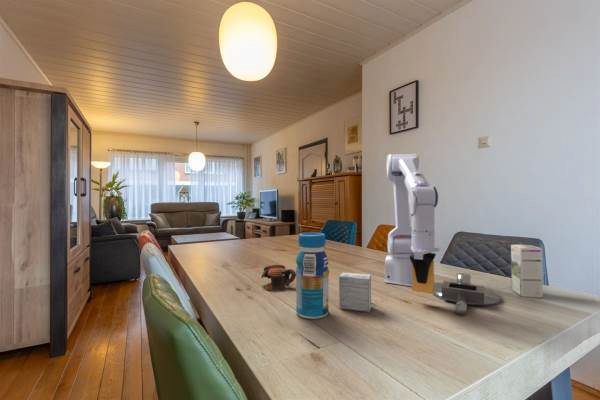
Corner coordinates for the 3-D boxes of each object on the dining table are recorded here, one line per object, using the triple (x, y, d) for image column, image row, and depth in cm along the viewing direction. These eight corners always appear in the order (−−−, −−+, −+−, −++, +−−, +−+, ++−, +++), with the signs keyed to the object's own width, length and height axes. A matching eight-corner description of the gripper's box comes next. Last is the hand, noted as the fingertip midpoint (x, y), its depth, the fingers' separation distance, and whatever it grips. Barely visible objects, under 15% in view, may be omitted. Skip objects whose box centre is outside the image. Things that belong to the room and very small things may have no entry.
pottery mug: (257, 292, 90) (256, 267, 94) (269, 297, 98) (268, 273, 102) (293, 285, 87) (290, 259, 91) (303, 290, 95) (300, 266, 99)
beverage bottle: (289, 312, 73) (288, 233, 73) (314, 304, 78) (314, 231, 78) (310, 323, 66) (309, 237, 66) (336, 314, 72) (335, 234, 72)
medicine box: (371, 306, 77) (371, 274, 77) (369, 312, 73) (369, 278, 72) (342, 303, 79) (342, 271, 79) (339, 309, 75) (338, 276, 75)
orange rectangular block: (412, 290, 78) (412, 261, 77) (414, 287, 80) (414, 259, 80) (432, 293, 75) (432, 263, 75) (434, 290, 77) (434, 261, 77)
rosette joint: (421, 308, 75) (421, 285, 75) (434, 282, 98) (434, 265, 98) (505, 323, 66) (505, 297, 66) (498, 291, 89) (498, 271, 88)
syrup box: (543, 298, 82) (543, 247, 82) (520, 296, 83) (520, 247, 83) (532, 291, 88) (532, 244, 88) (510, 290, 89) (510, 244, 89)
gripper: (436, 235, 69) (436, 291, 69) (442, 229, 81) (442, 276, 82) (405, 233, 73) (405, 286, 73) (415, 227, 85) (415, 273, 85)
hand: (422, 281), depth 77 cm, fingers closed on orange rectangular block, 3 cm apart
